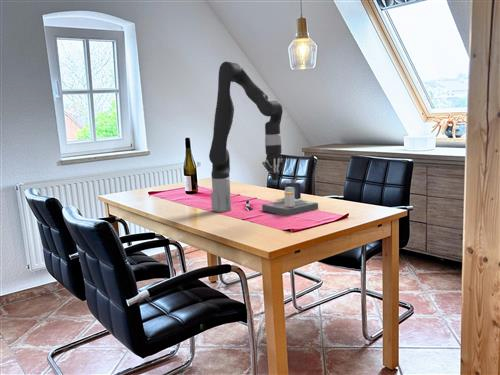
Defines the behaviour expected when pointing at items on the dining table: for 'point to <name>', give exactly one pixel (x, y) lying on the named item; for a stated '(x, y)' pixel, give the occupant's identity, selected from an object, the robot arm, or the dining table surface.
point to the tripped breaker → (289, 199)
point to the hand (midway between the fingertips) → (274, 180)
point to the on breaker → (289, 190)
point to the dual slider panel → (285, 210)
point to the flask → (296, 188)
